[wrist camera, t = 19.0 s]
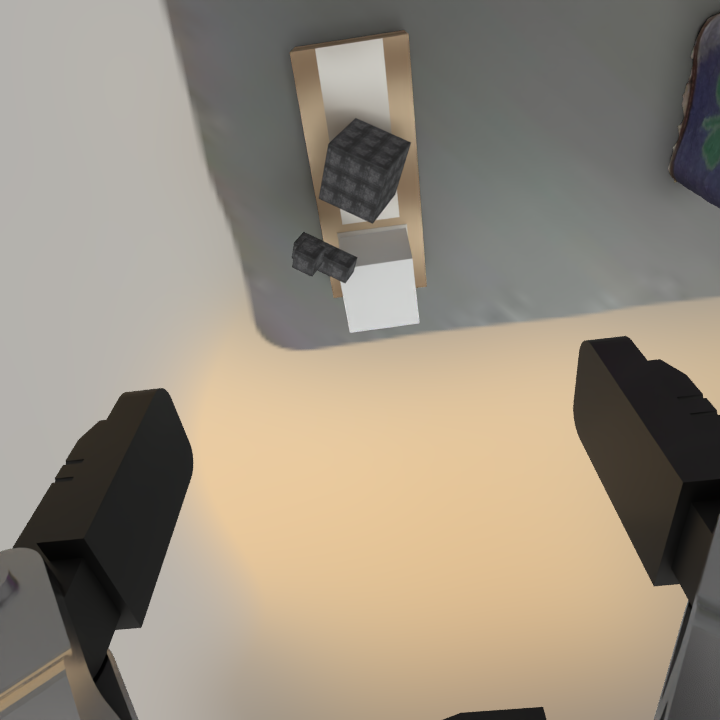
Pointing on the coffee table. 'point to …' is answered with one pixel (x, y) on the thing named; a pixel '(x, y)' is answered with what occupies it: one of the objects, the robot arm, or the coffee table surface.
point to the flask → (701, 119)
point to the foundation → (369, 104)
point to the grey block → (380, 281)
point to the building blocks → (353, 191)
